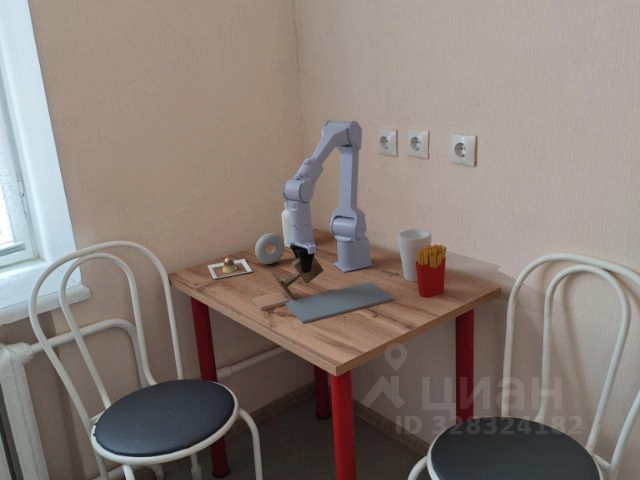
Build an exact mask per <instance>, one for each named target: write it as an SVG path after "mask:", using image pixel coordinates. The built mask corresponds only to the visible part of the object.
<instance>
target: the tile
mask: <svg viewBox="0 0 640 480" xmlns="http://www.w3.org/2000/svg"><path fill="white" fill-rule="evenodd" d="M251 302H252V303H253V304H254V305H255V306H256V308H257V309H259V311H265V310H269V309H273V308H276V307H280V306H281V307H282V306H284V305H285V302H289V300H288V298H287V297H286V296H285V295H283V293H282V292H280V291H277V292H272V293H267V294H264V295H260V296H259V295H258V296H254V297H252V298H251ZM285 306H286V305H285Z"/></svg>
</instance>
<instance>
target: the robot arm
mask: <svg viewBox="0 0 640 480" xmlns="http://www.w3.org/2000/svg"><path fill="white" fill-rule="evenodd" d="M320 131H321V139H320V140H319V141H318V144H317V146H316V148H315V150H314V152H313V154H312V156H311V157H307V158H305V159H304V160H303V162H302V164H301V165H300V167H299V168H298V170H297V172H296V173H295V175H294V176H293V178H292V179H291V178H290V179H289V180H287V181H286V182H285V183H284V185H283V189H282V192H281V193H282V194H281V195H282V198H283V199H284V200H285V202H286V205H287V207H289V216H290V226H291V232H290V239H291V240H289V241H288V244H289V245H290V248H289V249H290V250H291V251H292V253H293V255H294V258H295V260H296V259H297V258H299V260H300V263H301V268H302V271H303V273H307V272H311V267H312V261H313V258H314V257H315V254H316V253H317V251H318V249H317V245H316V244H315V239H314V237H313V236H314V235H313V225H312V213H311V210H312V209H311V200H312V199H313V197H314V193H315V188H316V183H317V182H318V180H319V178H320V176H321V175H322V173H323V171H324V166H323V165H324V162H325V161H326V160H327V159H328V158H329V156H330V154H331V153H332V152H333V151H334V149H337V150H338V152H339V153H340V171H339V173H340V175H339V177H340V178H339V179H340V180H339V203H338V205H339V206H338V207H337V208H336V209H334V210H333V211H332V212H331V220H330V223H329V231H330V233H331V235H332V236H334V239H335V240H336V245H337V246H336V248H337V261H335V262H333V265H334V266H335V267H337V268H338V269H339V270H341V271H342V272H344V273H347V272H351V271H352V272H353V271H356V270H360V269H364V268H369V267H372V266H373V264H372V258H371V257H372V256H371V245H370V240H369V238H368V237H367V236H366V235H365V234H367V233H366V232H367V224H366V214H365V213H364V212H363V211H362V210H361V209H360V207H358V187H359V165H360V164H359V163H360V150H361V149H362V143H363V129H362V127H361V125H360V123H359V122H358V121H356V120H352V121H347V120H345V121H344V120H332V119H329V120H326V122H325V123H324V125H323V127H321V130H320Z"/></svg>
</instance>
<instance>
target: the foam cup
mask: <svg viewBox="0 0 640 480" xmlns="http://www.w3.org/2000/svg"><path fill="white" fill-rule="evenodd" d="M431 243H432V232H431V231H429V230H427V229H423V228H408V229H407V228H406V229H402V230H400V231H399V232H397V244H398V249H399V254H400V260H401V265H402V272H403V276H404V279H405V280H407V281H410V282H418V280H417V272H416V262H417V261H418V258H417V253H418V252H419V250H420V249H422V248H425V249H426V246H428V247H429V245H431Z"/></svg>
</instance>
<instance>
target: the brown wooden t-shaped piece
mask: <svg viewBox="0 0 640 480" xmlns="http://www.w3.org/2000/svg"><path fill="white" fill-rule="evenodd" d="M291 265H292V266H293V268H294V269H295V272H294V273H293V274H292V275H290V276H288V278H286V279H285V280H283V279H282V278H281V277H280V276H279V275H278V274H277V273H276V272H275V271H273V272H272V273H271V275H272V276H273V278H274V279H275V281H276V282H277V283H278V284H279V286H280V287H281V288H282V290H283V291H284V292H285V293H286V294H287V295H288V297H289V298H291V300H292V301H294V300H297V298H296V297H295V295H294V294H293V292H292V291H291V290H290V288H289V287H290V286H291V285H292V284H293V283H295V282H296V281H298V279H300V278H301V279H302V281H303V282H304V283H305V284H306V285H307V284H309V283H311V281H313V280H315V278H317V277H318V276H319V275H320V274H321V273H323V272H324V271H325V270H324V268H323V267H322V266H321V263H319V261H318V259H317V258H316V257H315V256H314V258H313V261H312V267H311V272H307V273H303V271H302V268H301V263H300V260H299V258H297V259H296V258H295V260H293V261H292V262H291Z"/></svg>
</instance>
